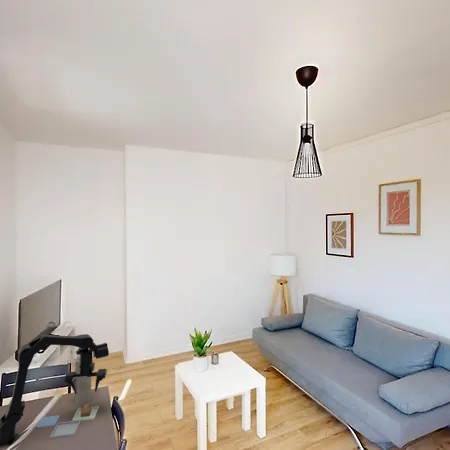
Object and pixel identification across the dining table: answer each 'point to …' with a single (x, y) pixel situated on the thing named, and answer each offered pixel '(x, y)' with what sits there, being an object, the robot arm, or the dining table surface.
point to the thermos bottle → (82, 385)
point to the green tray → (92, 416)
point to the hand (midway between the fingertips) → (86, 392)
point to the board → (48, 421)
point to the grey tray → (65, 429)
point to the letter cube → (85, 410)
